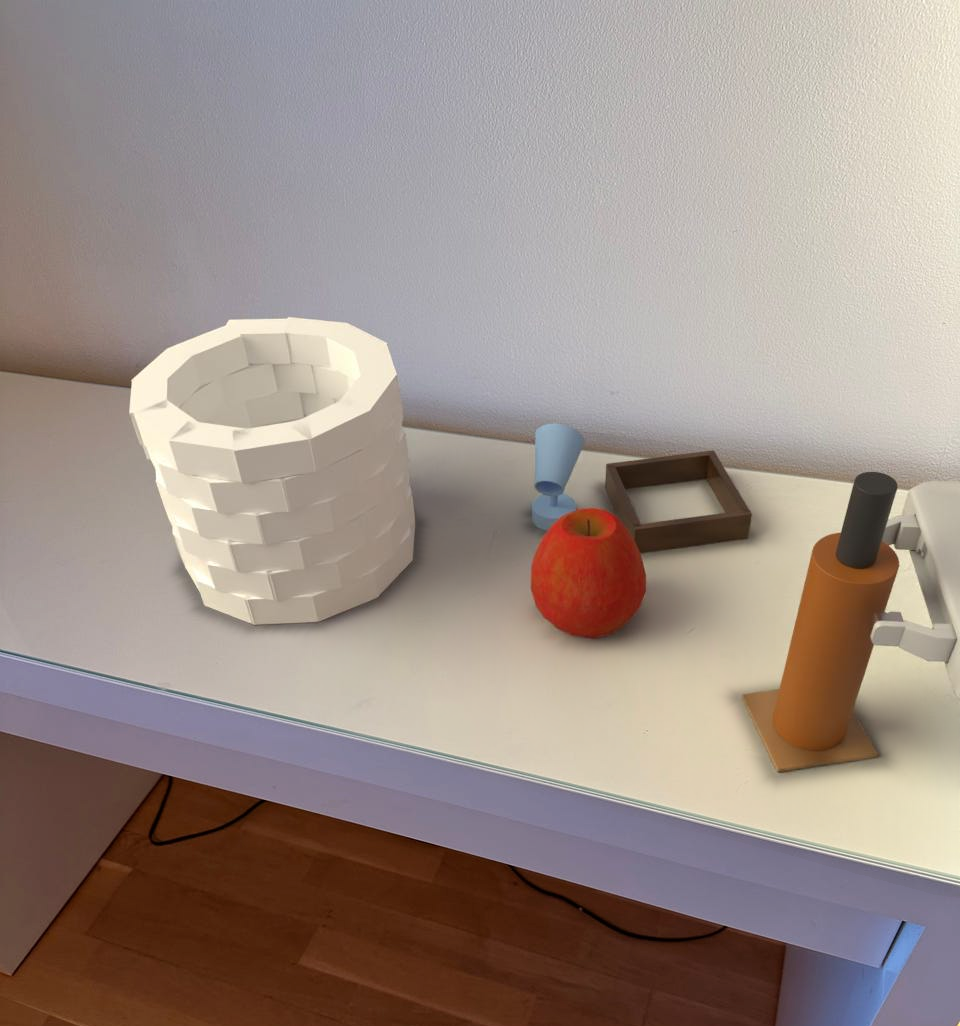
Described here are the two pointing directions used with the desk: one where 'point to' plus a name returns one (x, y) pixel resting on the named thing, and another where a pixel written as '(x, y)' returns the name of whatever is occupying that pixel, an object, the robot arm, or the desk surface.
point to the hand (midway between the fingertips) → (859, 581)
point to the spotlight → (554, 472)
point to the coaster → (797, 758)
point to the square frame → (686, 529)
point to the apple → (588, 574)
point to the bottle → (838, 620)
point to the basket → (280, 465)
